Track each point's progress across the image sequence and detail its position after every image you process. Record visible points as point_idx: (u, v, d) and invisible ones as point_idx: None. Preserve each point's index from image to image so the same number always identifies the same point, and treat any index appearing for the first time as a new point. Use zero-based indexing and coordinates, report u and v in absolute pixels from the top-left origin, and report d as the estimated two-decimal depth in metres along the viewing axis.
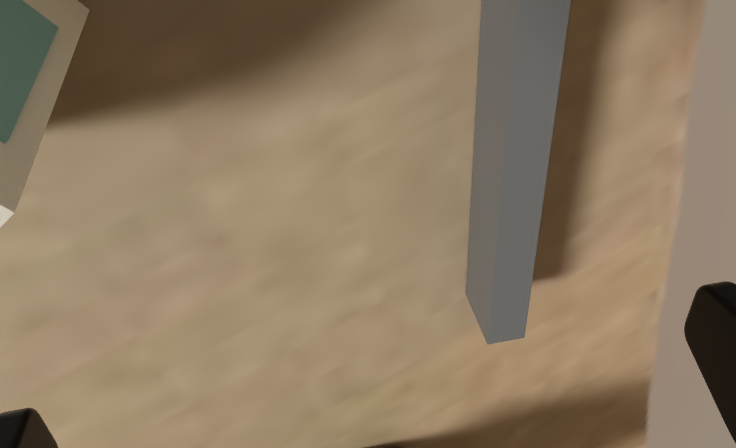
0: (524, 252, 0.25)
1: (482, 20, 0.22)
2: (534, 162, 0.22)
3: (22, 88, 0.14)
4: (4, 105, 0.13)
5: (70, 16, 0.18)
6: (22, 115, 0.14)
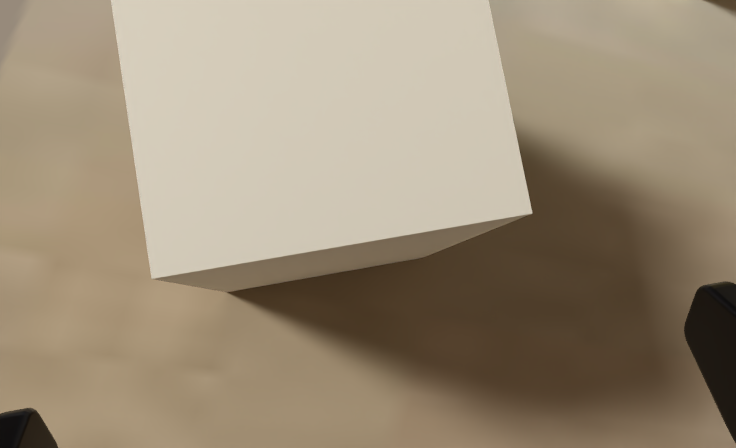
0: None
1: None
2: None
3: None
4: None
5: None
6: None
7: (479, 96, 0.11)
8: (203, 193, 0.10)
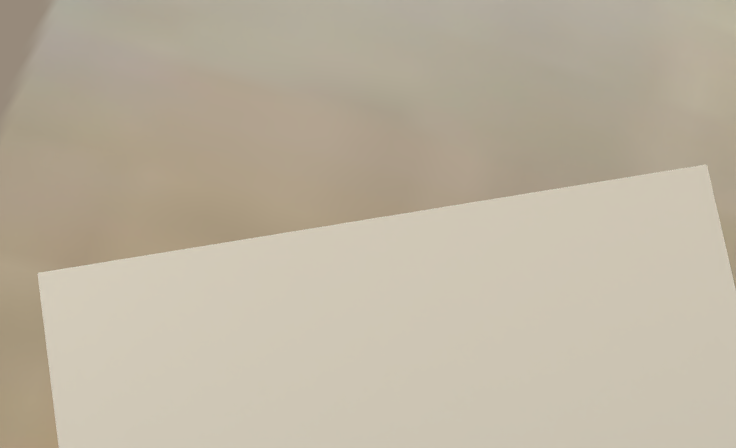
0: None
1: None
2: None
3: None
4: None
5: None
6: None
7: None
8: None
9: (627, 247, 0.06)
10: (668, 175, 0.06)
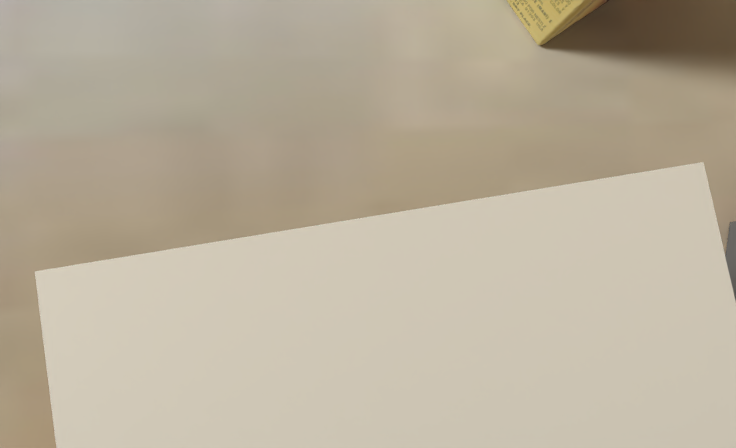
0: None
1: None
2: None
3: None
4: None
5: None
6: None
7: None
8: None
9: (624, 245, 0.06)
10: (665, 173, 0.06)
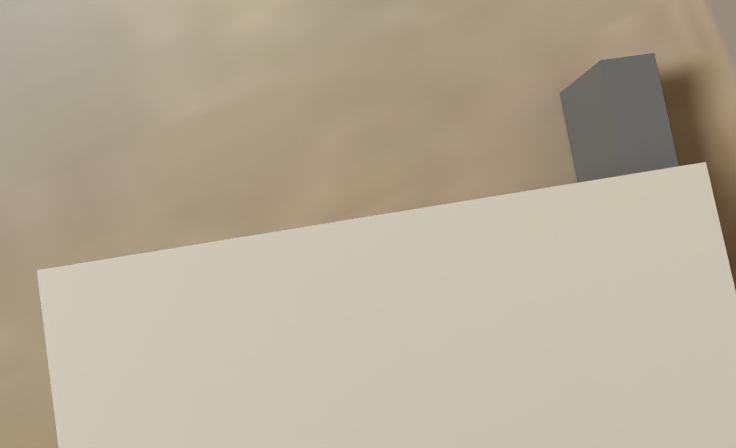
0: None
1: None
2: None
3: None
4: None
5: None
6: None
7: None
8: None
9: (627, 244, 0.06)
10: (668, 172, 0.06)
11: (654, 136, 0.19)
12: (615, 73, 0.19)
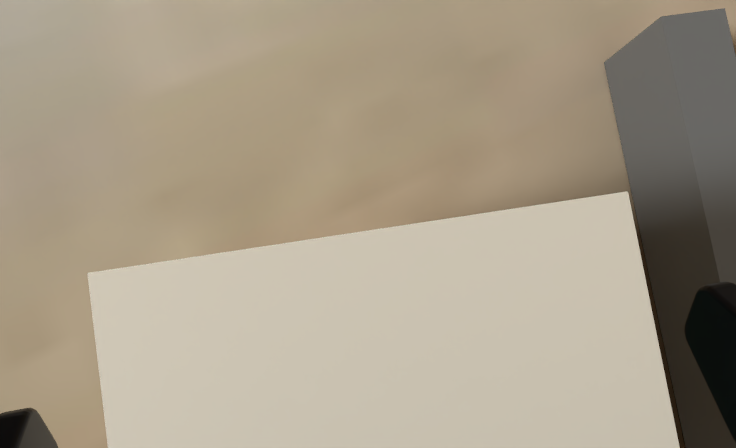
0: None
1: (679, 401, 0.17)
2: None
3: None
4: None
5: None
6: None
7: None
8: None
9: (561, 258, 0.08)
10: (596, 200, 0.08)
11: (726, 107, 0.15)
12: (678, 32, 0.16)
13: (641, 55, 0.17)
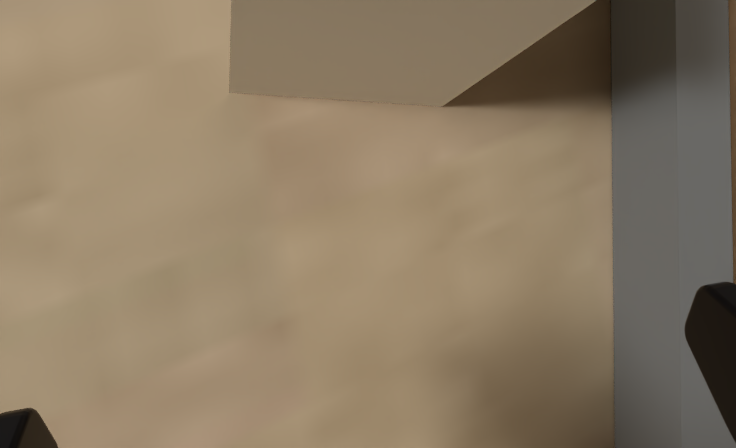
0: None
1: (614, 74, 0.20)
2: (714, 197, 0.18)
3: None
4: None
5: None
6: None
7: None
8: None
9: None
10: None
11: None
12: None
13: None
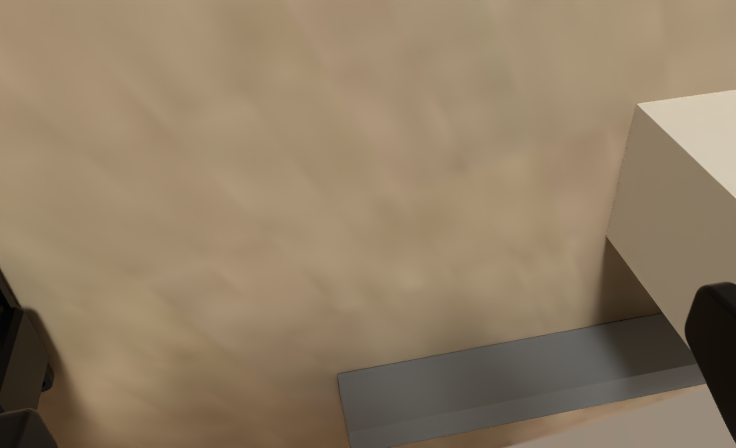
0: (463, 426, 0.28)
1: (614, 325, 0.31)
2: (554, 407, 0.29)
3: None
4: None
5: None
6: None
7: None
8: None
9: None
10: None
11: None
12: None
13: None
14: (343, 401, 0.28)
